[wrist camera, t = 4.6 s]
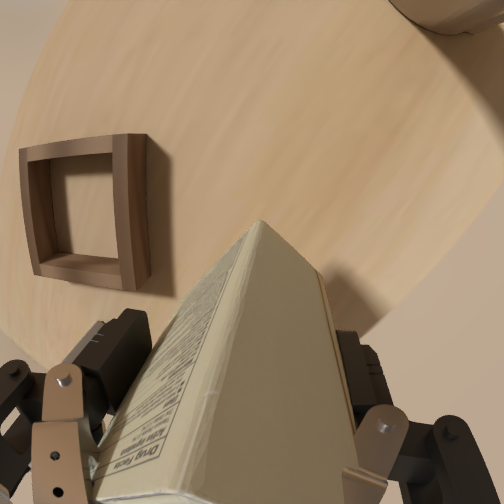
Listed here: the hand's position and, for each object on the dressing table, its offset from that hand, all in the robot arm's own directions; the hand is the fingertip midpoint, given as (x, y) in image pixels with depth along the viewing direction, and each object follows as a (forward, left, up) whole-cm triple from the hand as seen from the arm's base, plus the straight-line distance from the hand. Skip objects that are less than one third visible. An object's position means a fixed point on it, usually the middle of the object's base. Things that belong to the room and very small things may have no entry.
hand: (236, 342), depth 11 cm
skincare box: (0, 0, -5) cm, 5 cm away
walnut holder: (+14, -2, -12) cm, 19 cm away
